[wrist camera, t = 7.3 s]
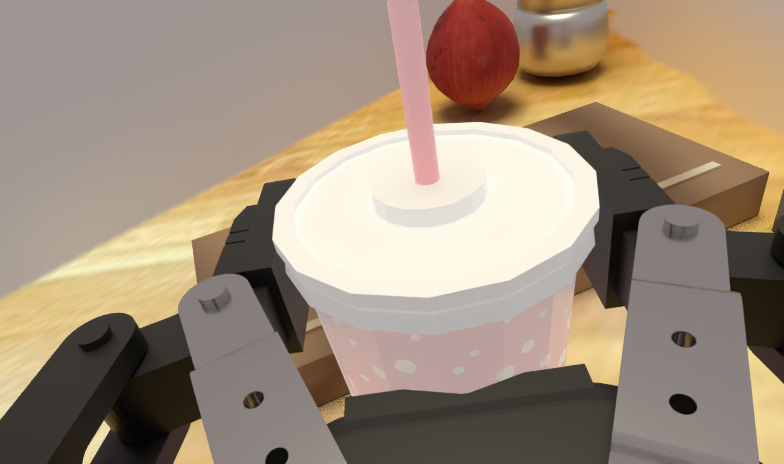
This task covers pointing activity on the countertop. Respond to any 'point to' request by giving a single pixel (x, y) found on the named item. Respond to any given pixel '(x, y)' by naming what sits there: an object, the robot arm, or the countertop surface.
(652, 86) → the countertop surface
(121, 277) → the countertop surface
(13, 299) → the countertop surface
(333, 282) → the beverage cup
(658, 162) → the walnut board
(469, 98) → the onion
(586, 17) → the plastic bottle
